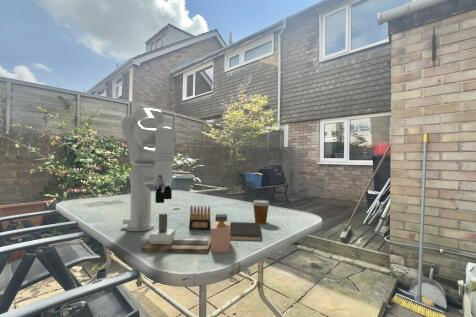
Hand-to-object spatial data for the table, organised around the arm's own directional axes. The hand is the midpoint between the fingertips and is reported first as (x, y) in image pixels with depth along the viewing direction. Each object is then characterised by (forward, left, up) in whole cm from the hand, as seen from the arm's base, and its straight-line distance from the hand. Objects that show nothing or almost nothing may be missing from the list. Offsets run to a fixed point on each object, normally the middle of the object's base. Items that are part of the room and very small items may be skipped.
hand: (163, 200), depth 95 cm
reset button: (+23, 0, -11) cm, 26 cm away
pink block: (+23, 0, -18) cm, 30 cm away
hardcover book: (+33, +21, -19) cm, 44 cm away
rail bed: (+6, 0, -18) cm, 19 cm away
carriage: (0, 0, -17) cm, 17 cm away
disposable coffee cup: (+43, +40, -19) cm, 62 cm away
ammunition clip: (+11, +24, -19) cm, 32 cm away
